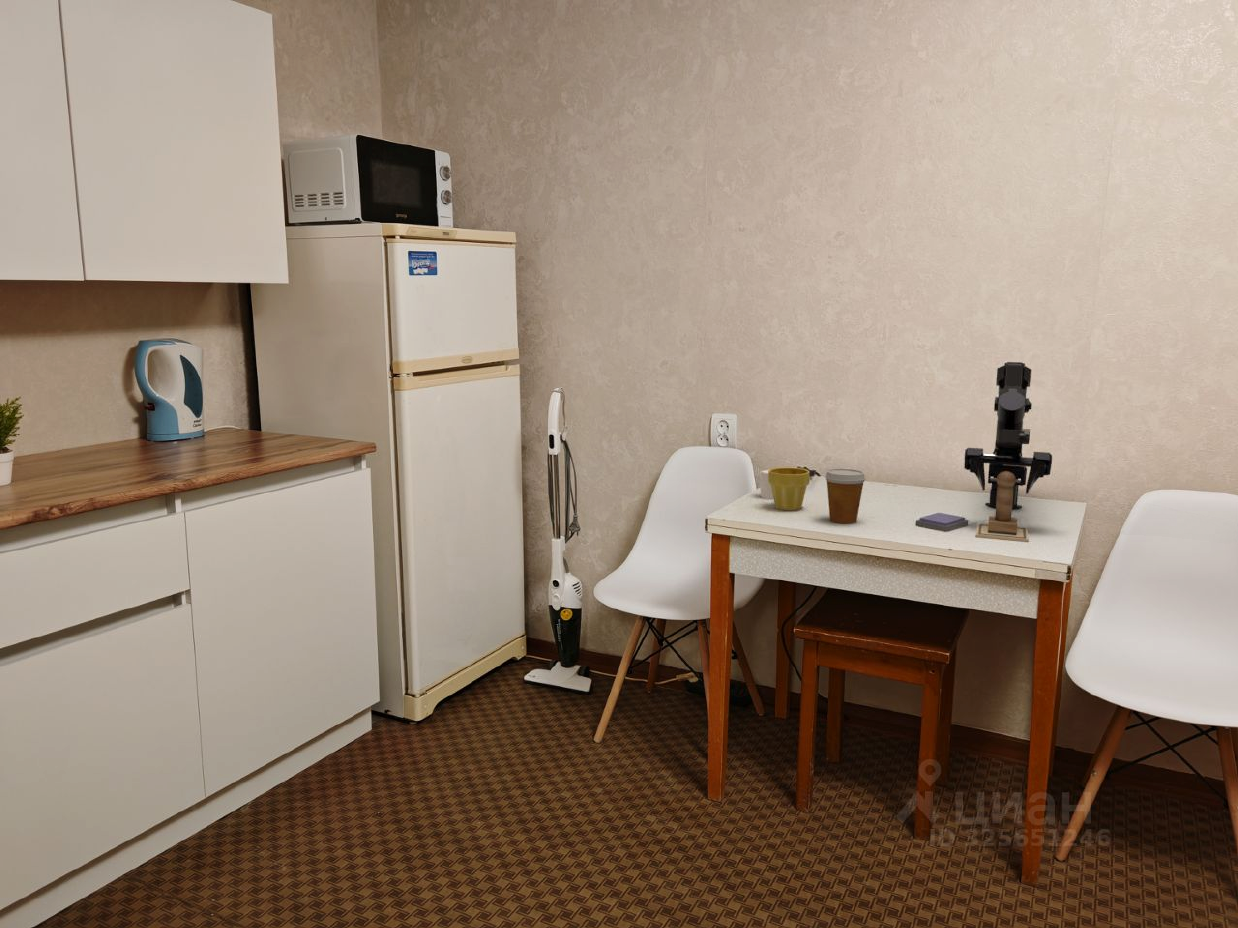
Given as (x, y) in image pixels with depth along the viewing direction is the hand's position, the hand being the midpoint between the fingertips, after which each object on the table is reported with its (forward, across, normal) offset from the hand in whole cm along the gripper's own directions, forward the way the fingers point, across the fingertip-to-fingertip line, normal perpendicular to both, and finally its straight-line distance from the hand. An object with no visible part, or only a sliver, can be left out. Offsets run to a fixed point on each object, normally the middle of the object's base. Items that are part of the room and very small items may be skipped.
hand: (1005, 491), depth 215 cm
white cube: (-5, -58, +19) cm, 61 cm away
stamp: (+8, 0, +5) cm, 9 cm away
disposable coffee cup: (+9, -36, +4) cm, 37 cm away
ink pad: (+6, -13, +8) cm, 17 cm away
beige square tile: (+8, 0, +6) cm, 10 cm away
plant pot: (+4, -51, +10) cm, 52 cm away
